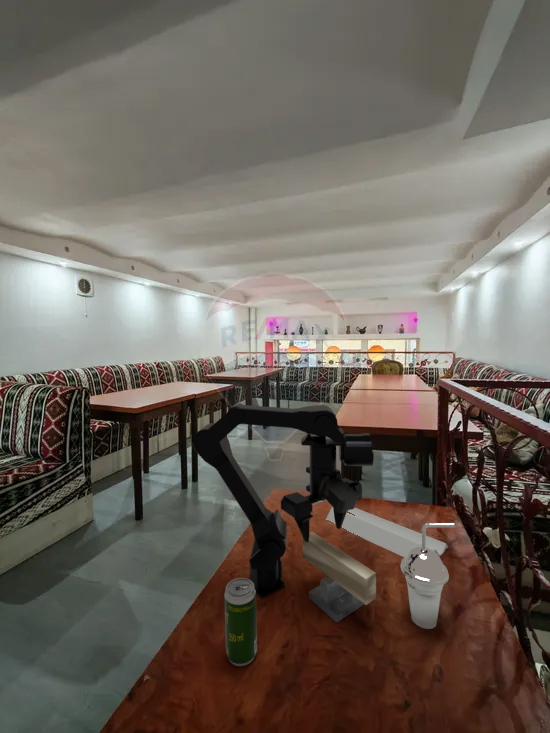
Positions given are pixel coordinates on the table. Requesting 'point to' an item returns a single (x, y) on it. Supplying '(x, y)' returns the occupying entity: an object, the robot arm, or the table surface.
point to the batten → (341, 568)
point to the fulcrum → (334, 599)
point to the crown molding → (386, 533)
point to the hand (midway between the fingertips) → (322, 534)
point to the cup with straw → (425, 580)
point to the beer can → (240, 621)
